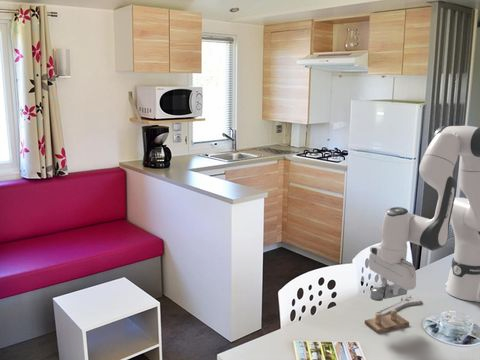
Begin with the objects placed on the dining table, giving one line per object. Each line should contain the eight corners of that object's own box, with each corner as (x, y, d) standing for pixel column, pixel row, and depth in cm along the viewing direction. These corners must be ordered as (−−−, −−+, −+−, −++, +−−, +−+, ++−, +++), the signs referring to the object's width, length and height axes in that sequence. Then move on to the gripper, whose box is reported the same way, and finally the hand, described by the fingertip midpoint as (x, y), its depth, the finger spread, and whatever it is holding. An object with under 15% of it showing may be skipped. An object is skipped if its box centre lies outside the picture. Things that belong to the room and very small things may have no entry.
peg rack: (395, 316, 173) (396, 304, 172) (408, 325, 166) (409, 312, 165) (364, 323, 167) (365, 311, 166) (377, 332, 161) (378, 320, 160)
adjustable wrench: (379, 319, 171) (379, 315, 170) (366, 312, 176) (366, 308, 176) (423, 303, 184) (423, 299, 183) (409, 296, 189) (410, 292, 189)
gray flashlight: (399, 290, 169) (399, 282, 168) (407, 295, 165) (408, 287, 164) (367, 296, 163) (368, 288, 163) (375, 301, 159) (376, 293, 159)
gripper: (422, 263, 153) (418, 302, 156) (380, 243, 171) (377, 278, 174) (407, 266, 151) (403, 305, 153) (367, 245, 169) (364, 281, 172)
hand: (389, 291), depth 164 cm, fingers closed on gray flashlight, 3 cm apart
